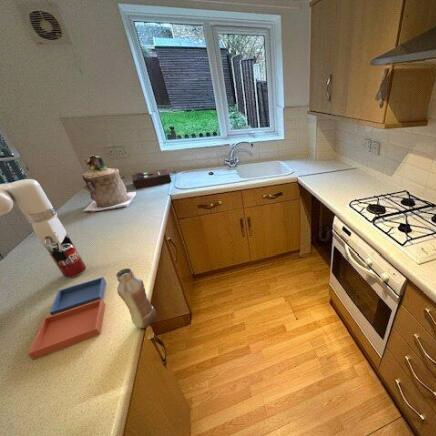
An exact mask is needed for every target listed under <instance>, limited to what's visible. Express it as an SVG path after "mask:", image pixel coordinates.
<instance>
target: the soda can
mask: <svg viewBox="0 0 436 436" xmlns="http://www.w3.org/2000/svg"><path fill="white" fill-rule="evenodd" d="M60 247H61V250H63V251H64V252H65V254H66V256H67V257H68V259H66V260H63V261H59V262H57V261H56V260H55V258H54V257H53V255H52V254H51V253H50V252H49V256H50V257H51V259H52V261H53V262H54V263H55V266H56V267H57V268H58V269H59V271H60V273H61V275H62V276H63V277H64V278H67V279H71V278H75V277H78V276H80V275H81V274H83V273H84V272H85V271H86V269H87V265H86V264H85V263H84V260H83V258H82V257H81V255H80V254H79V252H78V250H77V248H76V246H75V244H74V243H73V244H70V243H66V244H62V245H61V244H60ZM53 248H57V246H54V247H53Z"/></svg>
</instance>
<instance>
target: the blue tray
mask: <svg viewBox="0 0 436 436" xmlns="http://www.w3.org/2000/svg"><path fill="white" fill-rule="evenodd" d="M106 285H107V280H106V279H105V277H104V276H102V277H99V278H98V277H97V278H95V279H91V280H87V281H85V282H82V283H78V284H76V285H72V286H68V287H64V288H62V289H59V290H58V291H57V293H56V296H55V299H54V301H53V303H52V306H51V308H50V309H49V314H50V316H52V315H55V314H58V313H61V312H64V311H67V310H70V309H73V308H76V307H79V306H82V305H85V304H88V303H91V302H94V301H97V300H100V299H103V300H104V295H105V290H106Z"/></svg>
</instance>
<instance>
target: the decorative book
mask: <svg viewBox="0 0 436 436" xmlns="http://www.w3.org/2000/svg"><path fill="white" fill-rule="evenodd" d="M171 176H173V174H170V173H169V171H168V169H167V168H166V169H161V170H155V171H147V172H135V174H132V175H131V179H132V183H130V186H134V189H135V190H140V189H146V188H152V187H156V186H161V185H167V184H171V183H170V182H172V178H171ZM166 183H167V184H166ZM172 183H173V182H172Z"/></svg>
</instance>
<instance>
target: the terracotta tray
mask: <svg viewBox="0 0 436 436" xmlns="http://www.w3.org/2000/svg"><path fill="white" fill-rule="evenodd" d="M105 308H106V303H105V301H104V298H103V299H100V300H97V301H94V302H91V303H88V304H85V305H82V306H79V307H76V308H73V309H70V310H67V311H64V312H61V313H58V314H55V315H48V316H46V317H43V318H42V320H41V322H40V325H39V328H38V329H37V333H36V335H35V337H34V339H33V341H32V344H31V346H30V348H29V350H28V353H27V355H28V356H29V357H30V358H31V359H32V360H36V359H39V358H42V357H44V356H47V355H49V354H52V353H55V352H57V351H60V350H62V349H65V348H67V347H70V346H73V345H76V344H78V343H80V342H84V341H86V340H89V339H91V338H94V337H96V336H99V335H101V333H102V328H103V327H102V326H103V320H104V314H105V310H106V309H105Z"/></svg>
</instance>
